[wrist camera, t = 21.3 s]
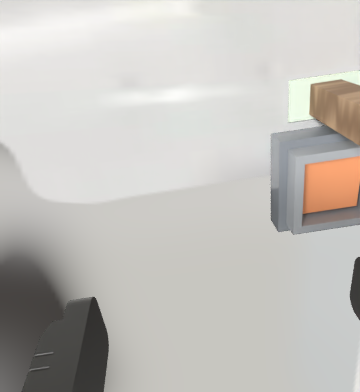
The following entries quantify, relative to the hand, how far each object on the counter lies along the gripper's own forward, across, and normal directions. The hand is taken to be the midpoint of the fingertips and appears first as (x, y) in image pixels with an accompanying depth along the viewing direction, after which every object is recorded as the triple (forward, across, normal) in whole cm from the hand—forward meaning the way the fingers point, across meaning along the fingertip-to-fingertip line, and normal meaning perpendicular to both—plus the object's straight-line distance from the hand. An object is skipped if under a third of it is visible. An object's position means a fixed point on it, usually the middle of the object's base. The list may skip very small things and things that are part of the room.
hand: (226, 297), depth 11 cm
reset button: (+30, -17, +12) cm, 36 cm away
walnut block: (+30, -17, +2) cm, 34 cm away
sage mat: (+30, -17, +2) cm, 35 cm away
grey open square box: (+30, -17, +12) cm, 37 cm away
